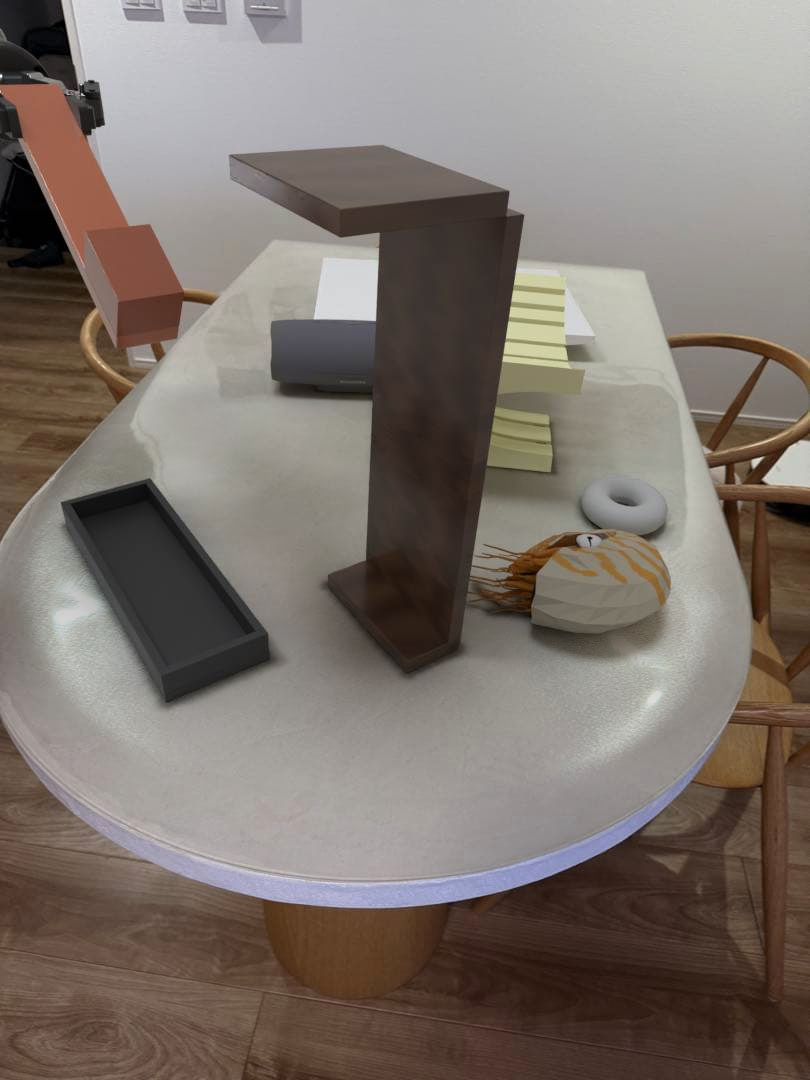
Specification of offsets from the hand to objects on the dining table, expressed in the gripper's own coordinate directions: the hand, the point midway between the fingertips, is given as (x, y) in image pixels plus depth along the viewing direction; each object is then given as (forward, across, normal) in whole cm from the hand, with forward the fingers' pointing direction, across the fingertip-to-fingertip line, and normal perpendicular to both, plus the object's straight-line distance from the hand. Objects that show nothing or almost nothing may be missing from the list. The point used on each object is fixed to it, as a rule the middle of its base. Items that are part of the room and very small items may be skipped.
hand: (50, 121), depth 57 cm
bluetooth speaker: (-20, +40, +40) cm, 60 cm away
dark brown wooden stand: (+24, +13, +39) cm, 48 cm away
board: (-35, +69, +40) cm, 87 cm away
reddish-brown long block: (+5, 0, +5) cm, 7 cm away
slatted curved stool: (+2, +48, +40) cm, 62 cm away
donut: (+23, +50, +40) cm, 68 cm away
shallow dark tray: (+8, 0, +39) cm, 40 cm away
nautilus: (+30, +32, +40) cm, 59 cm away
